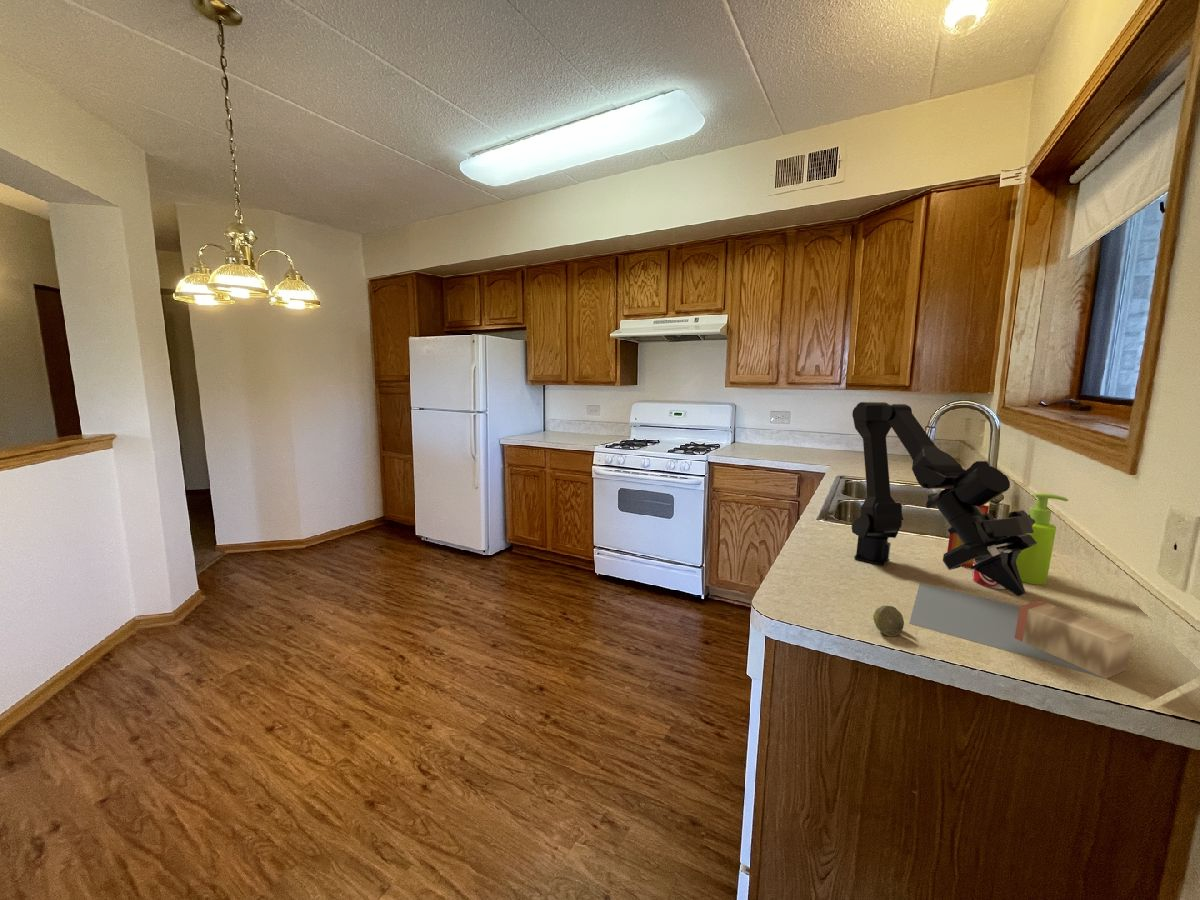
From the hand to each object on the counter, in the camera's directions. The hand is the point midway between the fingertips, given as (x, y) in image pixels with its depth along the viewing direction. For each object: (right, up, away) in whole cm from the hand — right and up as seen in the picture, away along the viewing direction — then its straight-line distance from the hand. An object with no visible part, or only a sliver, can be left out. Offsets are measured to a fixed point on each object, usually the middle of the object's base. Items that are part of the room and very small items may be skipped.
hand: (1022, 594), depth 85 cm
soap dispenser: (+23, -4, +24) cm, 34 cm away
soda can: (+11, -4, +21) cm, 24 cm away
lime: (-23, -7, +1) cm, 25 cm away
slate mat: (-1, -7, +4) cm, 8 cm away
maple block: (0, -4, -1) cm, 4 cm away
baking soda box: (+16, -2, +35) cm, 39 cm away
